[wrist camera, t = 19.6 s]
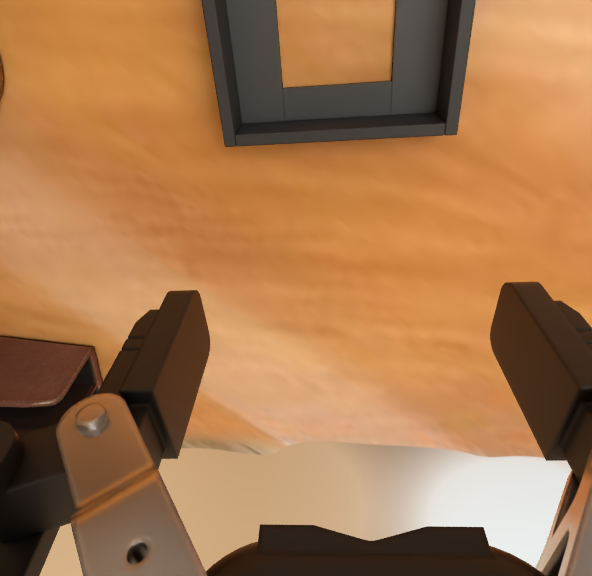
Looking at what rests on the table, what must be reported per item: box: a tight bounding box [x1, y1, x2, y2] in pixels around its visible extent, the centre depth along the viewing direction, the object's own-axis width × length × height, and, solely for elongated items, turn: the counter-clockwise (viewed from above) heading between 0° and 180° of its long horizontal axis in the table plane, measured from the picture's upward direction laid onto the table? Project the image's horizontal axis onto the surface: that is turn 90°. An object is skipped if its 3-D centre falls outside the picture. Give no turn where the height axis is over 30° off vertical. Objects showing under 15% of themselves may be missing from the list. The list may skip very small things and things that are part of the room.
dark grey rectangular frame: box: [202, 0, 476, 147], centre depth 26 cm, size 16×14×3 cm
